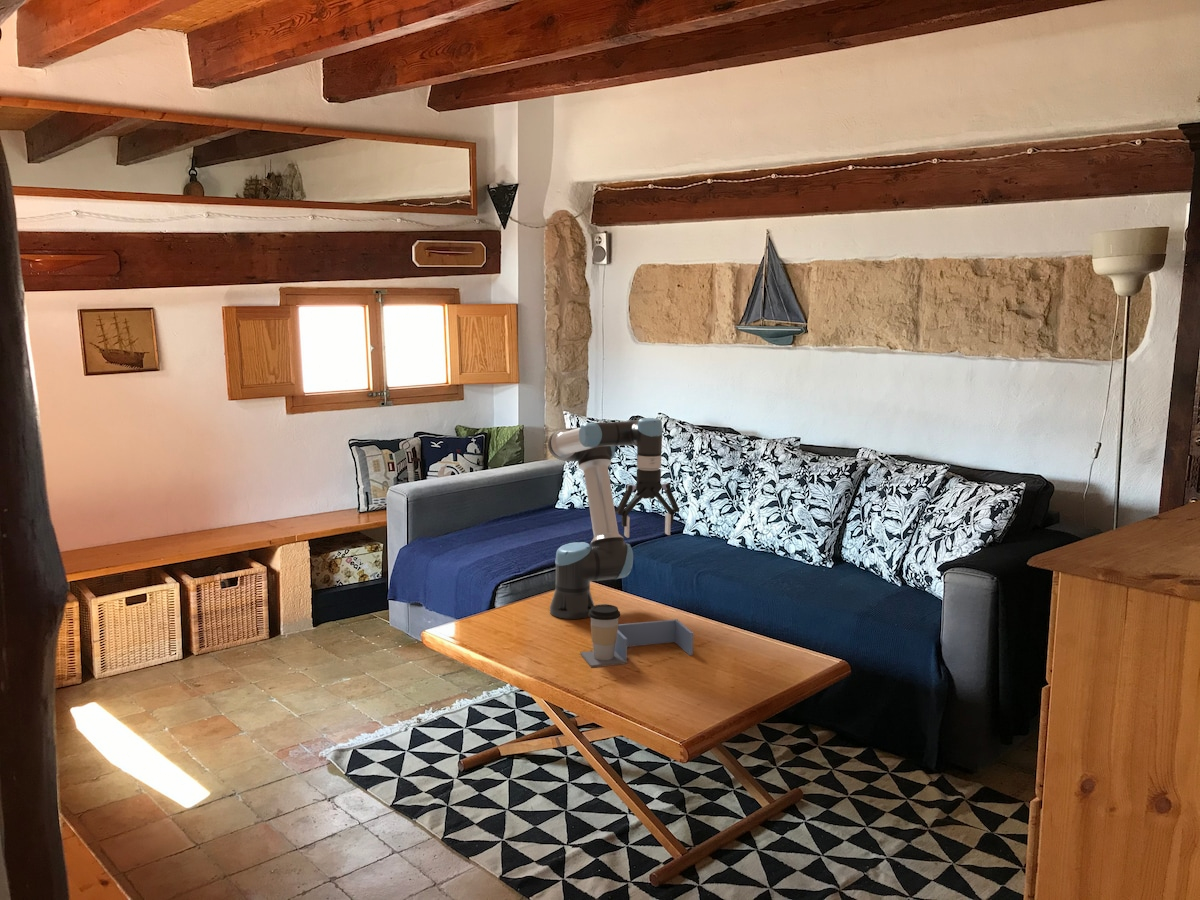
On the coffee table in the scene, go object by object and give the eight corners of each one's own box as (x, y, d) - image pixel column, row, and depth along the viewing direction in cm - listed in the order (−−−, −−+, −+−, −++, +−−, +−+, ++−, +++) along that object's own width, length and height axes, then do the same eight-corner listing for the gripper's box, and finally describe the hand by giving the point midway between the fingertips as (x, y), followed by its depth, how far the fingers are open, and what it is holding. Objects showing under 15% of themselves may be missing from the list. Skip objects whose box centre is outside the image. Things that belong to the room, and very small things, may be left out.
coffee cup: (620, 652, 299) (621, 604, 296) (618, 663, 289) (619, 614, 287) (589, 650, 300) (590, 602, 297) (586, 662, 290) (587, 612, 288)
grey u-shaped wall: (609, 647, 305) (610, 625, 304) (676, 640, 311) (677, 619, 310) (623, 662, 292) (624, 639, 291) (692, 655, 299) (693, 632, 298)
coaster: (580, 654, 298) (580, 652, 298) (615, 650, 301) (615, 648, 301) (591, 667, 288) (591, 665, 288) (626, 663, 291) (626, 661, 291)
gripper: (614, 472, 300) (613, 540, 303) (691, 469, 307) (688, 535, 310) (606, 467, 307) (605, 534, 310) (681, 465, 314) (679, 530, 317)
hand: (647, 535), depth 310 cm, fingers open, 13 cm apart
